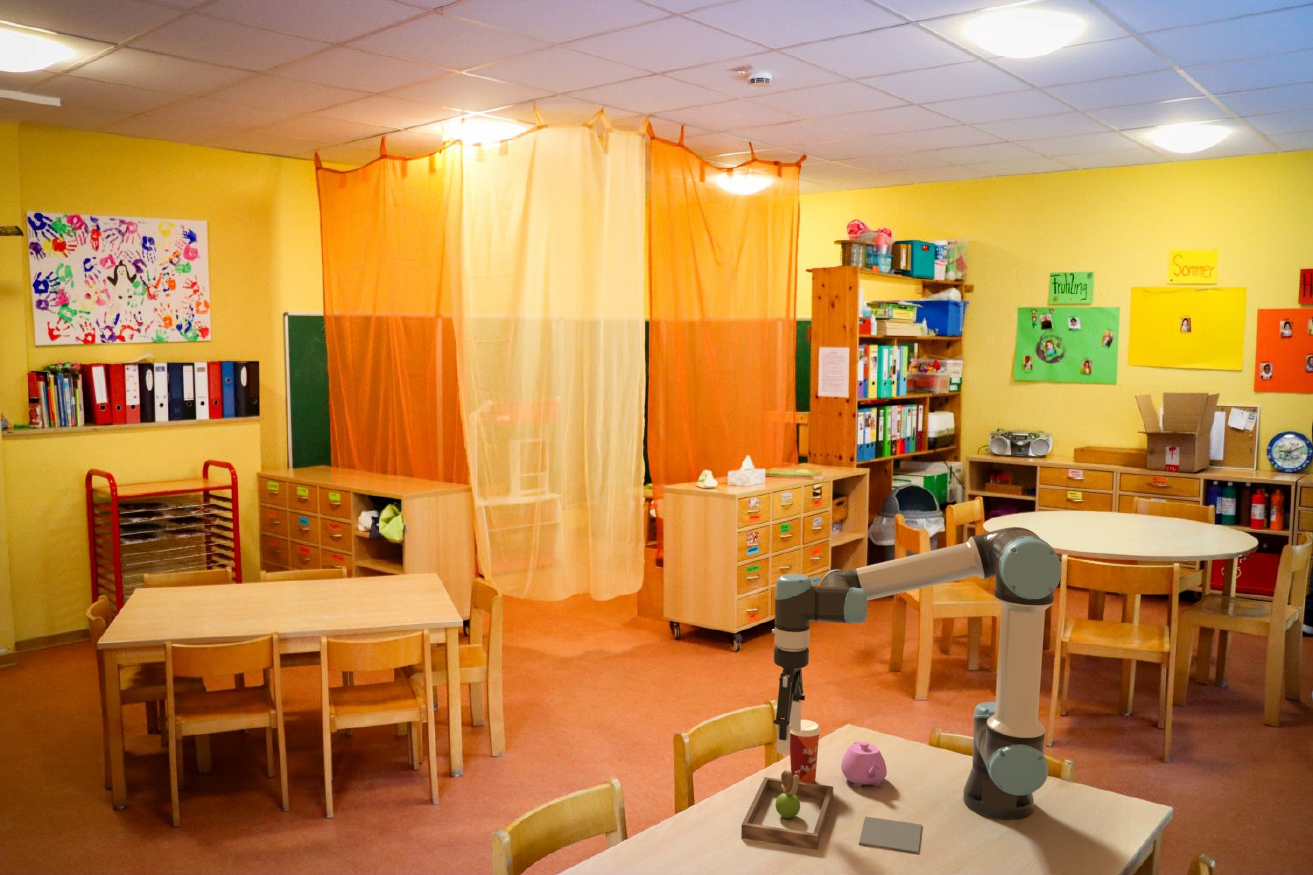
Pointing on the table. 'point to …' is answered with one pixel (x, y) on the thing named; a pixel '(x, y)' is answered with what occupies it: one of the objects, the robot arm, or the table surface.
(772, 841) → the brown wooden frame
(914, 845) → the slate mat
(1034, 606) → the robot arm
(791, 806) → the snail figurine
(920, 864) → the table surface
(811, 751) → the paper cup
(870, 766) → the pink rounded piece
